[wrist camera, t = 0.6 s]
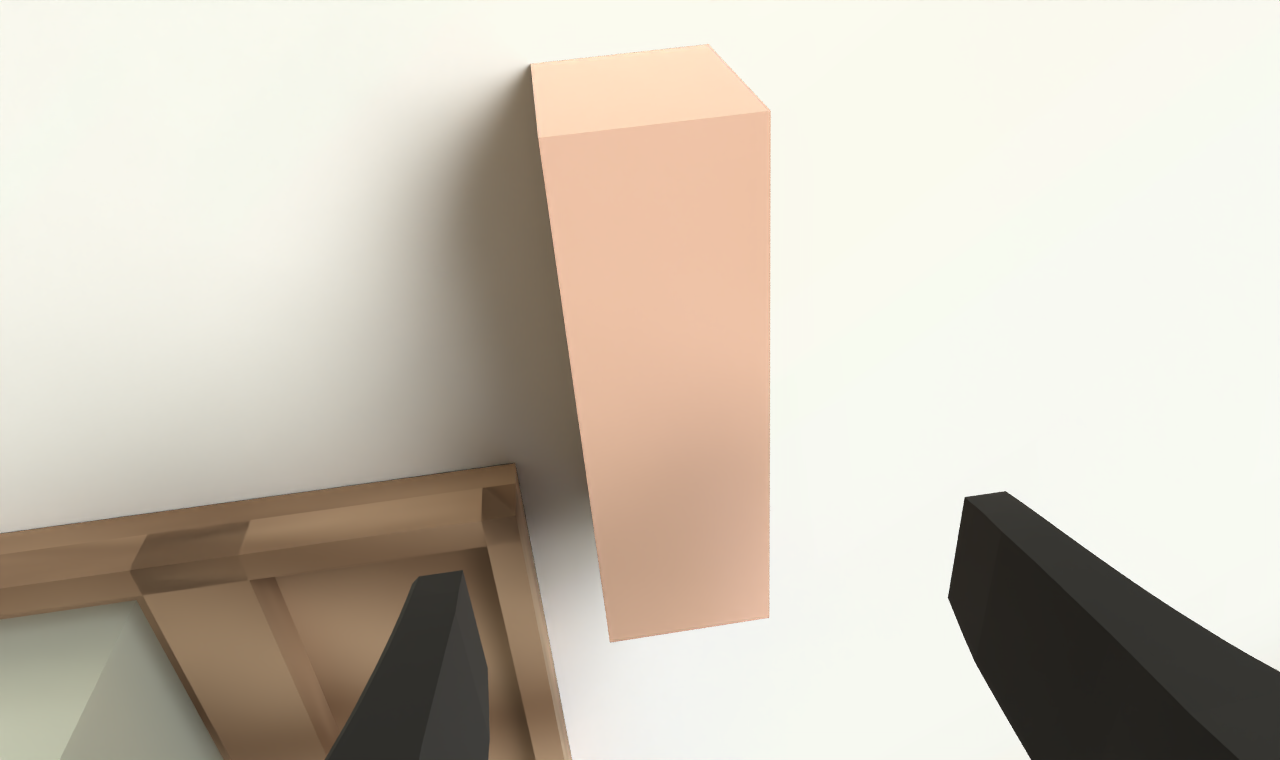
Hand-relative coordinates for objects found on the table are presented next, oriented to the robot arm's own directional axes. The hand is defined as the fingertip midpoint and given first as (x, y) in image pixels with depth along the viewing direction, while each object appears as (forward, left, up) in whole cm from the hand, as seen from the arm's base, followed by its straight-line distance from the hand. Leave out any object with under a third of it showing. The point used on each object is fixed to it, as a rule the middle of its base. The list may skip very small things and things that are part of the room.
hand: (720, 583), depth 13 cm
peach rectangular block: (0, 0, -9) cm, 9 cm away
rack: (-12, +11, -9) cm, 18 cm away
